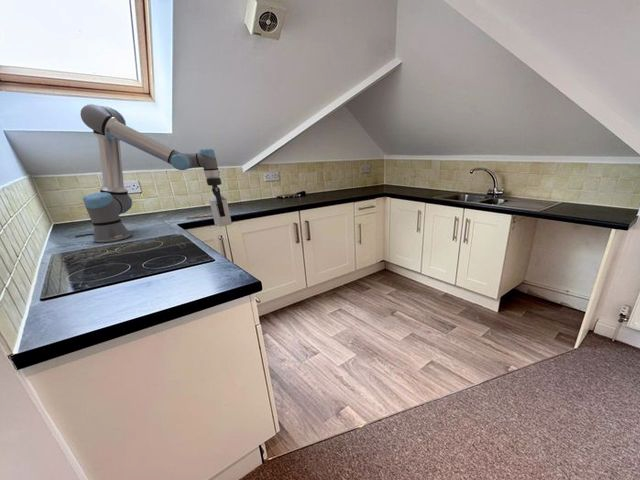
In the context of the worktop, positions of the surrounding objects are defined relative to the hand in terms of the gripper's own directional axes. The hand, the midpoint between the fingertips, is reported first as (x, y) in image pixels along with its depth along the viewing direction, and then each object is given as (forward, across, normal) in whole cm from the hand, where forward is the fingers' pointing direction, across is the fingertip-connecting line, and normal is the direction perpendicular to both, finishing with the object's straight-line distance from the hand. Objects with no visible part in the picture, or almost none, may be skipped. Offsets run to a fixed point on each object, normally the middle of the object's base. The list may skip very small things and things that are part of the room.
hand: (221, 214), depth 180 cm
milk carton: (+6, 0, 0) cm, 6 cm away
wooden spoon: (+6, +32, +12) cm, 35 cm away
